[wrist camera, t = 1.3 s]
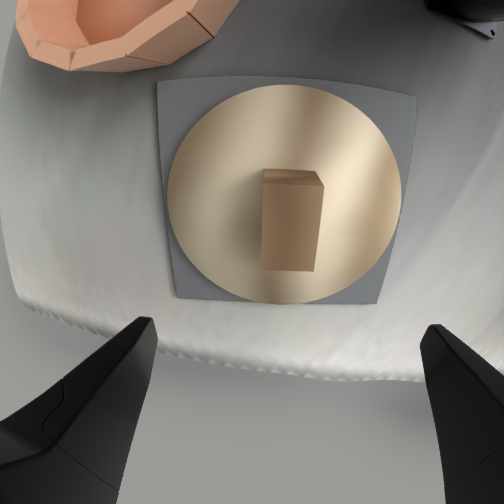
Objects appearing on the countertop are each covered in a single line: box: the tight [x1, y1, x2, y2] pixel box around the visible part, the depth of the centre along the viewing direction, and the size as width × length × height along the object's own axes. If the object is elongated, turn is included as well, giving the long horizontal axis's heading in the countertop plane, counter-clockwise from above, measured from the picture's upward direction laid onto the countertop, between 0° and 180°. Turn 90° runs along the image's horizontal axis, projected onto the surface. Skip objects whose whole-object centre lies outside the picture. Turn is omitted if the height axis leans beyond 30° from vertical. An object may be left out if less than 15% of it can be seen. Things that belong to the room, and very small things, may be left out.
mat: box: [157, 76, 418, 304], centre depth 19 cm, size 16×16×1 cm
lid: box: [167, 85, 401, 304], centre depth 17 cm, size 15×15×4 cm
